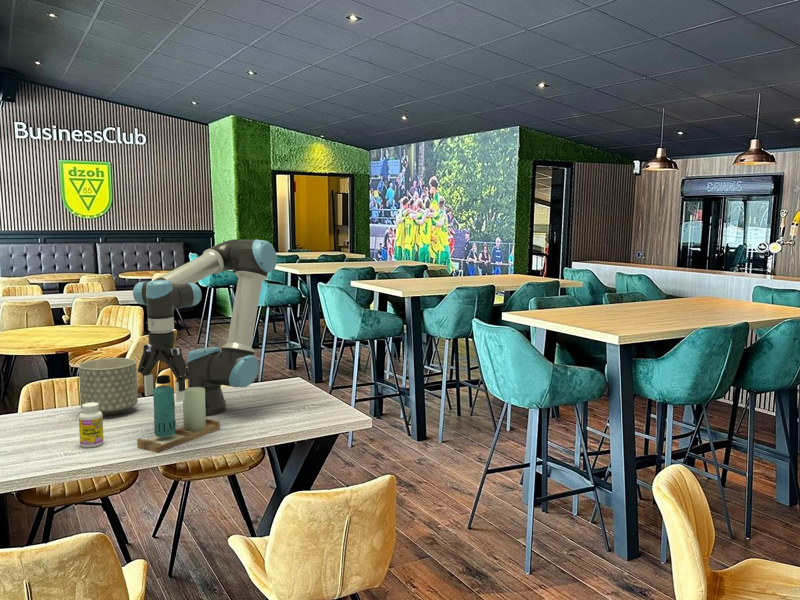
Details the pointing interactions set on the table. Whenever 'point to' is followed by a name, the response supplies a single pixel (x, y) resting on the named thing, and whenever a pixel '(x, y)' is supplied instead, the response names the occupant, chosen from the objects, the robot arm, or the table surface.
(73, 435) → the table surface
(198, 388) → the sage canister
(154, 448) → the wooden tray
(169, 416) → the beverage bottle
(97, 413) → the supplement bottle
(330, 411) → the table surface
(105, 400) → the planter
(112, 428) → the table surface
